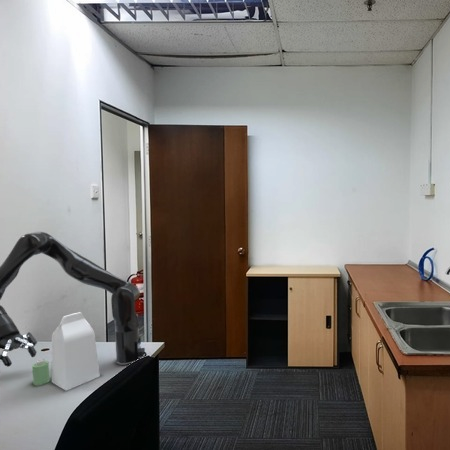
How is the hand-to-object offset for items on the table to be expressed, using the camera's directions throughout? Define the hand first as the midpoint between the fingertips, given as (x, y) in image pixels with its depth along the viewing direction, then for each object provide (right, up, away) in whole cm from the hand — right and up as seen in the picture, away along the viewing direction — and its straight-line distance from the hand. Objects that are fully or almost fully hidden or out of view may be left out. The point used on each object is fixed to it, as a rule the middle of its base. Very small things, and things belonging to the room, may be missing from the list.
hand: (22, 360), depth 133 cm
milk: (+22, -7, -2) cm, 23 cm away
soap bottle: (+10, -7, -4) cm, 13 cm away
